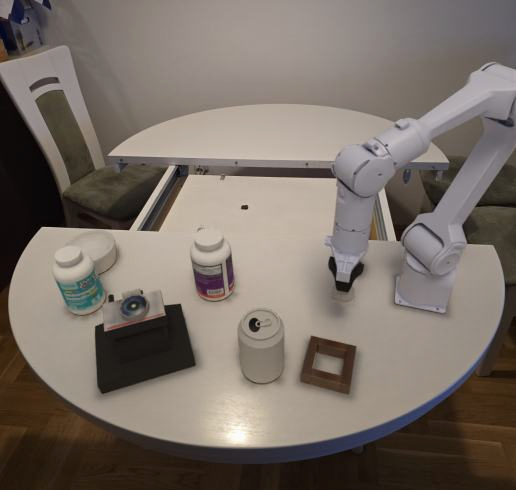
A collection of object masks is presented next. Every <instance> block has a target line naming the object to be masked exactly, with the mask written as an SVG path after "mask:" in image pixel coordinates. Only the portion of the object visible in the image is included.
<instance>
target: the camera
mask: <svg viewBox="0 0 516 490" xmlns="http://www.w3.org/2000/svg"><path fill="white" fill-rule="evenodd" d="M162 293H163V292H162V291H161V289H157V290H154V291H150V292H145V293H144V291H143V289H141V288H137V289H132V290H128V291H125V292H121V296H122V298H121V299H118V300H115V296H114V294H112V293H111V294H108V295H107V299H108V300H107V301H108V302H106V303H103V304H102V306H101V307H102V319H103V321H102V323H100V324H99V323H98V324H97V325H95V326H94V347H95V365H96V368H95V369H96V385H97V388H98V390H99V391H100V393H101V394H102V395H105V394H107V393H110V392H114V391H117V390H121V389H123V388H127V387H131V386H134V385H138V384H140V383H144V382H147V381H151V380H153V379H156V378H159V377H163V376H166V375H170V374H172V373H176V372H179V371H183V370H186V369H189V368H193V367H196V366H197V364H196V359H195V355H194V351H193V348H192V343H191V338H190V335H189V331H188V328H187V322H186V319H185V314H184V311H183V307H182V303H174V304H173V303H172V304H164V298H163V294H162Z"/></svg>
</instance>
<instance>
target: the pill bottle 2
mask: <svg viewBox="0 0 516 490" xmlns="http://www.w3.org/2000/svg"><path fill="white" fill-rule="evenodd" d="M189 256H190V262H191V267H192V272H193V278H194V283H195V289H196V292H197V294H198V296H200V297H201V298H203V299H204V300H206V301H211V302H217V301H222V300H224V299H226V298H228V297H229V296H230V295H231V294H232V293H233V292H234V289H235V286H236V285H235V274H234V264H233V254H232V246H231V244H230V242H229V241H228V240H227V239H226V238H225V237H224V233H223V231H222V230H221V229H219V228H217V227H211V226H210V227H204V228H200V229H199V230H198V231H197V232H195V234H194V235H193V243H192V244H191V246H190V249H189Z"/></svg>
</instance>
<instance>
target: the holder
mask: <svg viewBox="0 0 516 490" xmlns="http://www.w3.org/2000/svg"><path fill="white" fill-rule="evenodd" d="M356 353H357V345H355V344H350V343H345V342H340V341H337V340H333V339H328V338H324V337H319V336H315V335H310V340H309V343H308V346H307V350H306V354H305V358H304V360H303V361H304V362H303V366H302V369H301V372H300V382H301V383H304V384H308V385H310V386H311V385H312V386H315V387H318V388H323V389H326V390H330V391H333V392H338V393H341V394H345V395H349V394H350V391H351V385H352V379H353V378H352V377H353V372H354V365H355V359H356ZM318 354H322V355H325V356H330V357H334V358H338V359H341V360H342V359H343V360H344V363H343V370H342V375H340V374H336V373H332V372H328V371H324V370H321V369H317V368H314V367H315V363H316V358H317V355H318Z"/></svg>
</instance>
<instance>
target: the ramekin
mask: <svg viewBox="0 0 516 490" xmlns="http://www.w3.org/2000/svg"><path fill="white" fill-rule="evenodd" d="M66 246H77V247H79V248H80V249H81V252H82V253H84V254H87V255H89V256H90V257H91V258H92V260H93V262H94V265H95V268H96V270H97V273H98V275H100V274H103V273H104V272H106V271H108V270H109V269H110V268H111V267H112V266H113V265H114V264H115V263H116V259H117V248H116V240H115V237H114V235H113V233H111V232H109V231H106V230H101V229H94V230H93V229H92V230H88V231H84V232H81V233H79V234H76V235H75V236H73V237H72V238H71V239H69V240H68V241H67V242H66V244H65V245H64V247H66Z"/></svg>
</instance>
